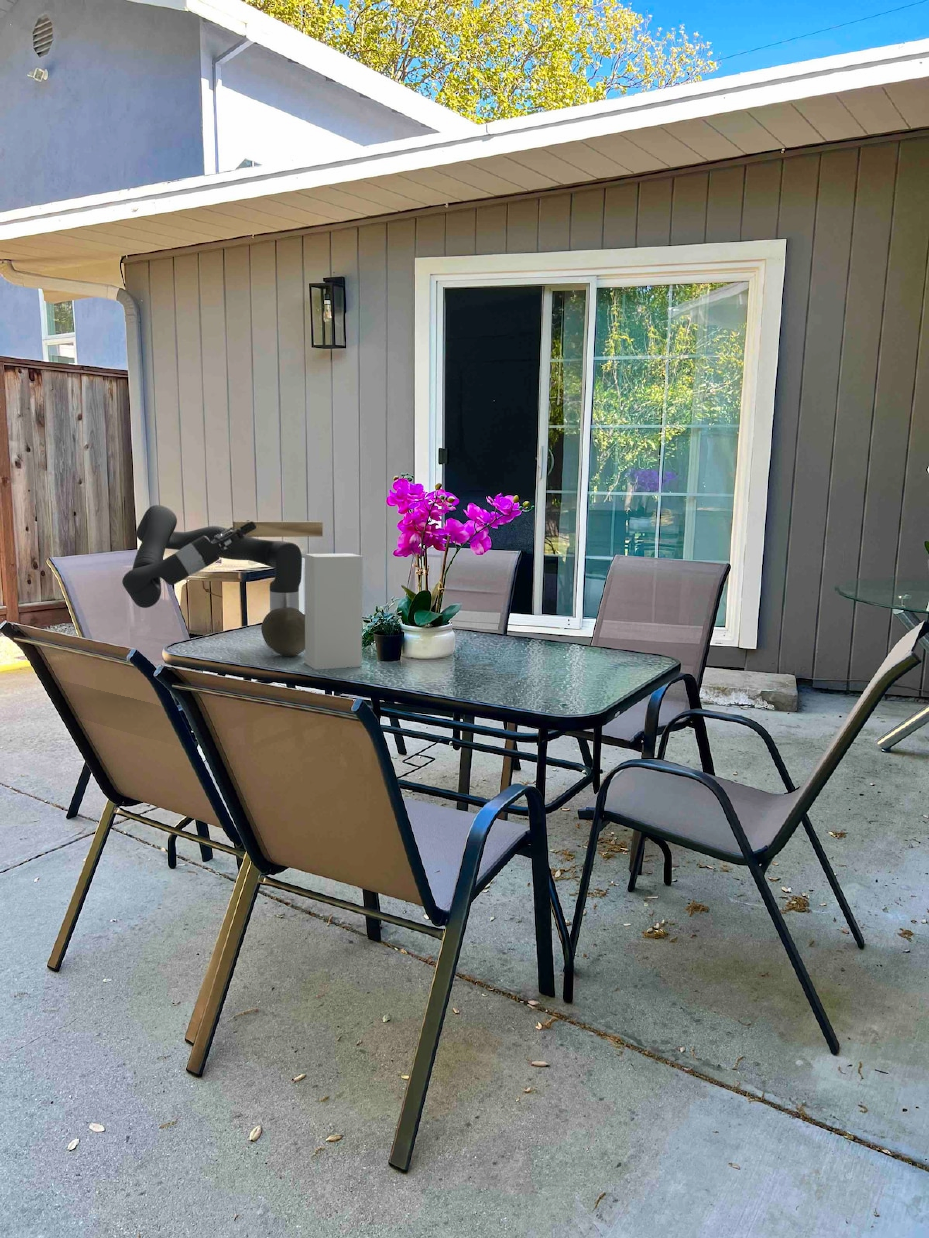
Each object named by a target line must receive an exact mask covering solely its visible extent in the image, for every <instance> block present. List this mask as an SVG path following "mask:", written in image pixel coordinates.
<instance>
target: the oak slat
mask: <svg viewBox="0 0 929 1238" xmlns="http://www.w3.org/2000/svg"><path fill="white" fill-rule="evenodd" d="M251 521H253V520H249V521H247V520H245V521H243V520H238V521H237V520H233V521H232V527H233V531H234V530H236V529H237V528H240V527H242V526H244V525H245V524H247V523H249V522H251ZM253 522H254V524H255V525H256V529H254V530H252V531H251V532H249V533H247V534H245V536H244V537H253V538H274V537H275V538H280V537H282V538H286V537H287V538H289V537H290V538H291V537H292V538H293V537H294V538H296V537H299V538H300V537H308V538H309V537H316V538H317V537H319V538H321V537H324V536H323V531H324V528H323V527H324V526H323V523H324V522H323V521H313V520H312V521H304V520H303V521H296V520H294V521H292V520H291V521H289V520H288V521H282V520H281V521H278V520H277V521H276V520H275V521H274V520H273V521H271V520H265V521H264V520H261V521H260V520H259V521H255V520H254V521H253ZM235 536H236V537H239V536H238V534H235Z"/></svg>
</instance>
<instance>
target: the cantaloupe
mask: <svg viewBox="0 0 929 1238" xmlns="http://www.w3.org/2000/svg"><path fill="white" fill-rule="evenodd" d="M260 627H261V634H262V638H263V641H264V643H266V645H267V646H268V647H269V648H270V649H271V650H272V651H274V652H275V653H277V654H279V655H280V656H284V657H295V656H298V655H300V654H302V653H303V652H305V613H303V612H302V611H301V610H300V609H299V610H298V609H295V608H292V607H288V608H277V609H274V610H272V611H271V612H270V611H269V612H268V613H267V614H266V615H265V616H264V619H263V620H262V623H261V625H260Z"/></svg>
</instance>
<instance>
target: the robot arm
mask: <svg viewBox="0 0 929 1238" xmlns="http://www.w3.org/2000/svg"><path fill="white" fill-rule="evenodd" d="M246 521H251V522H249V523H247V524H245V525H244V526H242V527H240V528H237V529H236V530H234V531H233V526H231V527H229V528H227V527H222V526H219V525H217V526H216V525H212V526H211V525H210V526H206V527H205V526H204V527H201V528H197V529H193V530H189V531H175V529H176V528H177V525H178V518H177V515H176V514H175V512H174V511H173V510H172V509H170V508H168V507H166V506H164V505H159V504H155V505H151V506H149V507H148V508H147V509H146V511H145V512H144V515H143V517H142V519H141V520H140V523H139V524H138V526H137V529H136V533H135V535H136V538H137V539H138V541H140V543H141V544H140V546H139V548H138V550H137V552H136V555H135V558H134V561H133V565H132V569H131V570H129V571H127V572H126V573H125V574H124V576H123V578H122V582H121V583H122V586H123V587H124V589H125V590H126V592H127V593H128V595H129V596H130V598H131V600H132V601H133V602H134V604H135V605H136V606H137V607H139V608H143V609H147V608H151V607H153V606H155V605H156V604H157V603H158V601H159V600H160V598H161V595H162V583H161V579H162V580H163V581H164V582H165V583H167V585H169V586H173V585H176V584H178V583H180V582H181V581H183V580H185V579H187V578H188V577H190V576H191V575H194V574H196V573H197V574H198V572H200V571H202V570H204V569H206V568H208V567H210V566H211V565H212V564H214V563H216V562H217V561H220V558H221V559H226V560H234V561H235V560H236V561H248V562H249V561H251V562H254V563H259V564H261V565H265V566H267V567H270V568H272V569H275V577H274V579H273V580H272V581H271V582H270V583H269V612H271V611H272V610H274V609H277V608H288V607H292V608H295V609H298V610H299V611H300V609H299V608H300V593H299V590H300V589H299V588H300V585H301V582H302V573H303V568H302V567H303V556H302V551H301V549H300V547H299V546H298V545H297V544H296V543H294V542H291V541H285V540H283V541H282V540H269V539H263V538H261V539H260V538H257V537H244V536H245V534H247V533H249V532H251V531H252V530H254V529H256V525H255V524H254V522H253V520H246ZM235 534H238V536H239V537H236V536H235ZM166 549H167V550H175V551H176V550H177V551H176V552H174V553H172V554H171V555H169V556H168V557H166V558H165V557H164V556H165V551H166Z"/></svg>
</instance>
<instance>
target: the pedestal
mask: <svg viewBox="0 0 929 1238" xmlns="http://www.w3.org/2000/svg"><path fill="white" fill-rule="evenodd" d="M363 558H364V557H363V555H359V554H355V553H352V552H351V553H349V552H347V553H346V552H345V553H341V552H340V553H304V616H305V650H304V663H305V664H306V665H307V666H309V667H310V668H311V669H313V670H314V671H315V670H318V671H319V670H332V669H345V668H346V669H348V668H347V667H349V668H361V667H362V666H363V573H364V572H363V569H364V568H363Z"/></svg>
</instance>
